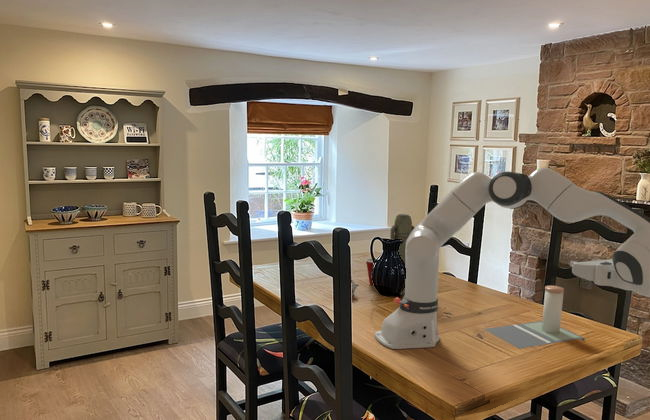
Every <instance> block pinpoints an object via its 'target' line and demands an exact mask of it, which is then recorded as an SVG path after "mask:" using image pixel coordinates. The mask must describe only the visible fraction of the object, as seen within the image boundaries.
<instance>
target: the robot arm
mask: <svg viewBox="0 0 650 420" xmlns="http://www.w3.org/2000/svg"><path fill="white" fill-rule="evenodd" d="M528 201H533V202H536V203H537V204H539V205H540V206H541V207H542V208H543V209H545V210H546V211H547V212H548V213H549V214H551V215H552V216H553V217H554V218H555V219H558V220H559V221H561V222H564V223H577V222H580V221H583V220H586V219H589V218H592V217H596V216H605V217H609V218H611V219H612V220H614V221H616V222H617V223H620V225H622V226H624V227H626V228H628V229H629V230H631V231H632V232H633V234H632V235H630V237H629V238H628V239H626V241H624V242H623V243H622V244H621V245H620V246H618V247H617V249H616V250H615V251H614V252H613V253H612V257H611V259H598V258H592V259H591V260H590V261H589V260H588V261H577V260H570V261H569V267H572V268H571V273H572V274H573V275H574V276H576V277H578V278H581V279H583V280H585V281H590V282H593V283H594V284H595V285H596V286H601V287H602V286H605V287H613V288H615V289H617V288H618V289H621V290H624V291H632V292H634V294H637V295H639V296H643V297H647V298H650V217H648V216H647V215H645V214H643V213H642V212H639V211H638V210H636V209H634V208H632V207H631V206H629V205H628V204H626V203H624V202H622V201H620V200H618V199H616V198H615V197H613V196H612V195H609V194H608V193H605V192H603V191H598V190H595V191H592V190H587V189H584V188H582V187H580V186H579V185H577V184H576V183H574V182H572V181H571V180H570V179H569V178H567V177H566V176H564V175H563V174H561V173H559V172H557V171H556V170H554V169H552V168H550V167H547V166H544V167H539V168H537V169H535V170H533V172H531V173H530V174H528V175H527V174H525V173H520V172H515V171H501V172H499V173H497V174H496V175H494V176H493V177H492V178H490V176H488V175H486V174H485V173H483V172H480V171H473V172H471V173H470V174H469V175H467V176H465V177H464V178H462V180H461V181H460V182H458V183H457V184H456V185H455V186H454V187H453V188H451V190H450V191H449V192H448V193H447V194H446V195H445V196H444V198H442V200H440V201H439V203H437V204H436V205H435V206H434V208H432V209H431V211H430V212H428V214H427V215H426V216H425V217H424V218H423V219H422V220H421V221H420V222H419V223H417V225H416V226H414V229H413V230H412V232H411V233H410V235H409V237H408V239H407V241H406V248H405V268H406V279H405V295H403V297H402V299H401V298H399V297H398V296H397V297H395V298H394V299H393V301H394V303H396V304H397V305H399V307H398V308H396V309H395V310H394V311H392V313H389V315H388V316H387V317H385V318H384V320H383V322H382V326H381V329H380V330H377V331H375V332H374V338H375V339H376V340H377V342H379V343H380V344H381V345H383V346H384V347H387V348H389V349H393V350H401V349H402V350H403V349H423V348H434V347H436V346H437V343H438V342H439V341H440V334H439V330H438V320H437V312H438V309H439V299H438V288H439V287H438V285H439V265H440V264H439V263H440V262H439V261H440V249H441V247H442V246H444V244H445V243H447V241H449V240H450V239H451V238H452V237H453V236H454V235H455V234H456V233H458V232H459V231H460V230H461V229H462V228H464V227H465V225H466V224H467V223H468V222H469V221H470V220H472V218H473V217H474V216H475V215H476V214H477V213H478V212H480V210H481V209H482V208H483V207H484V206H485V205H486V204H488V203H491V202H493V203H495V204H496V205H498V206H500V207H502V208H505V209H511V210H513V209H514V210H516V209H519V208H522V207H523V206H525V205H526V204H527V203H528Z"/></svg>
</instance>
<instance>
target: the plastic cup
mask: <svg viewBox="0 0 650 420" xmlns="http://www.w3.org/2000/svg"><path fill="white" fill-rule="evenodd" d="M372 258H373V257H371V258H366V259H365V262H366V267H367V276H368V282H369V285H370V286H373V282H372V278H371V272H372V267H373V260H372Z"/></svg>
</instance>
